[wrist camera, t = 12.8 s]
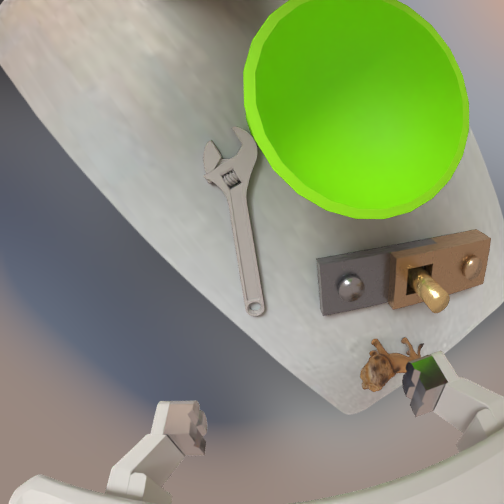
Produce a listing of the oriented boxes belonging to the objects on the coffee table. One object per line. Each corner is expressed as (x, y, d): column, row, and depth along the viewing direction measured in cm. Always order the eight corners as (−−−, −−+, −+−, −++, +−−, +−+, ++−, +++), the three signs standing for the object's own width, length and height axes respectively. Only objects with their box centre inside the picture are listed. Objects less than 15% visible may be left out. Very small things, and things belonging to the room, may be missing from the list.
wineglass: (302, 201, 36) (347, 265, 19) (216, 100, 31) (185, 71, 14) (397, 128, 32) (495, 141, 16) (321, 26, 27) (378, -40, 10)
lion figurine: (348, 362, 47) (361, 401, 39) (353, 339, 45) (370, 378, 37) (418, 351, 47) (438, 384, 39) (426, 329, 45) (449, 362, 37)
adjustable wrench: (265, 309, 43) (266, 316, 41) (221, 311, 43) (220, 318, 41) (255, 127, 33) (256, 127, 31) (201, 132, 33) (198, 132, 31)
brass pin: (398, 259, 39) (432, 295, 30) (415, 256, 39) (451, 289, 30) (397, 277, 40) (429, 315, 31) (414, 274, 40) (447, 309, 31)
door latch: (316, 258, 39) (324, 276, 34) (476, 229, 37) (494, 240, 33) (320, 307, 42) (327, 328, 38) (470, 272, 41) (486, 286, 36)
